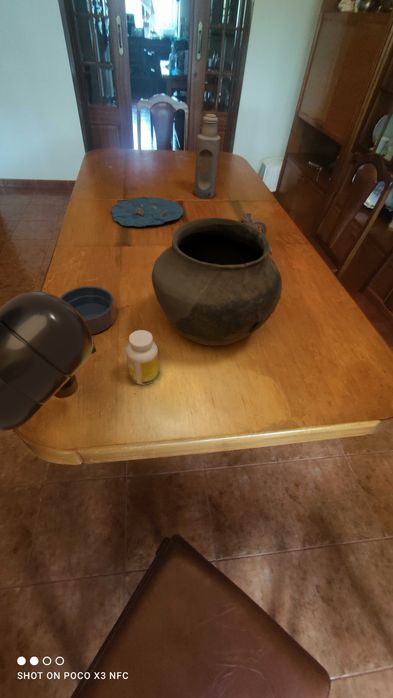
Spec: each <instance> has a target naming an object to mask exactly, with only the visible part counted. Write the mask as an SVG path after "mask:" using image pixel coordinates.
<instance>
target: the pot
mask: <svg viewBox="0 0 393 698" xmlns="http://www.w3.org/2000/svg"><path fill="white" fill-rule="evenodd" d="M259 230H260V229H259ZM259 230H258V229H256V228H254V227H252V226H250V225H247V224H244V223H243V221H242V222H241V221H238V220H236V219H231V218H224V217H201V218H196V219H191V220H190V221H186V222H185V223H183V224H182V225H180V226H178V228H176V230H175V231H174V232H173V234H172V237H171V245H169V246H168V247H167V248H166V249H164V250H163V251H162V253H161V254H160V255H158V257H157V258H156V259H155V261H154V263H153V267H152V271H151V283H152V287H153V291H154V294H155V297H156V300H157V301H158V303H159V305H160V307H161V309H162V312H163V314H164V315H165V317H166V318H167V320H168V322H169V323H170V325H171V326H172V328H173V330H175V331H176V332H177V334H179V335H180V336H182V337H183V338H185V339H188V340H190V341H192V342H195V343H197V344H200V345H205V346H224V345H230V344H233V343H236V342H240V341H241V340H242V339H245V338H246V337H249V336H250V335H252V334H254V333H255V332H257V330H259V329H260V328H261V327H262V326H264V325H265V323H266V322H267V321H268V320H269V318H270V317H271V316H272V315H273V313H275V310H276V308H277V307H278V303H279V302H280V299H281V295H282V289H283V281H282V275H281V272H280V269H279V268H278V266H277V265H276V262H275V261H274V260H273V259H272V258H271V256H270V254H269V252H270V246H271V245H270V241H269V240H268V238H267V236H265V235H264V234H263V233H261V232H262V231H259ZM269 245H270V246H269Z"/></svg>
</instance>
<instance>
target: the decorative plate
mask: <svg viewBox="0 0 393 698" xmlns="http://www.w3.org/2000/svg"><path fill="white" fill-rule="evenodd" d="M110 212H111V214H112V218H113V220H114V221H115V222H118V223H119V224H120V225H121V226H125V227H131V226H133V227H139V228H140V227H141V228H142V227H144V228H145V227H146V226H158V225H163V224H165V223H166V222H170V221H174V220H175V221H176V220H178V219H180V218H181V217H182V215H183V214H184V208H183V207H182V206H181V204H179V203H178V202H176V201H173V200H171V199H166V198H161V197H153V196H140V197H134V198H131V199H127V200H121V201H119V202H117V203H115V204H114V205H113V206H112V209H111V211H110Z"/></svg>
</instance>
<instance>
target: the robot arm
mask: <svg viewBox="0 0 393 698" xmlns="http://www.w3.org/2000/svg"><path fill="white" fill-rule="evenodd" d="M96 352H97V349H96V345H95V340H94V338H93V335H91V332H90V329H89V327H88V325H87V324H86V322H85V320H84V319H83V318H82V316H81V315H80V314H79V313H78V312H77V311H76V310H75V309H74V308H73V307H72V306H71V305H70V304H68V303H67V302H66V301H64V300H62V299H61V298H60V297H59V296H57V295H54V294H52V293H50V292H46V291H45V292H44V291H39V290H30V291H25V292H22V293H20V294H17V295H15V296H14V297H12V298H11V299H9V300H7V301H6V302H5V303H4V304H3V305H1V306H0V432H4V431H11V430H16V429H18V428H20V427H22V426H24V425H26V424H27V423H28V422H29V421H31V419H33V418H34V416H35V415H37V414H38V412H39V411H40V410H41V409H42V408H44V406H45V405H46V403H48V402H49V401H50V400H51V399H52V398H53V397H54V396H53V395H54V394H55V393H56V392H57V391H58V390H59V389H60V388H61V387H62V386H63V385H64V384H65V383H66V382H67V381H68V380H69V379H70V376H73V375H74V374H75V375H76V373H78V371H79V370H80V369H81V368H82V367H83V366H84V364H85V363H86V362H87V361H88V359H89V358H90V357H91V355H93V354H95V353H96Z"/></svg>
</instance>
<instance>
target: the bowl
mask: <svg viewBox="0 0 393 698" xmlns="http://www.w3.org/2000/svg"><path fill="white" fill-rule="evenodd" d="M59 298H61V299H62V300H64V301H66V302H67V303H68V304H70V305H71V306H72V307H73V308H74V309H75V310H76V311H77V312H78V313H79V314H80V315H81V316H82V318H83V319H84V320H85V322H86V324H87V325H88V327H89V329H90V332H91V335H92V336H94V335H97V334H100V333H102V332H105V331H106V330H107V329H108V328H110V327H111V326H112V325H114V322H115V320H116V319H117V310H116V303H115V298H114V296H113V294H112V293H111V292H110V291H109V290H107V289H105V288H103V287H100V286H94V285H89V286H88V285H85V286H79V287H75V288H72V289H70V290H68V291H66V292H64V294H62V295H61V296H60V297H59Z"/></svg>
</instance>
